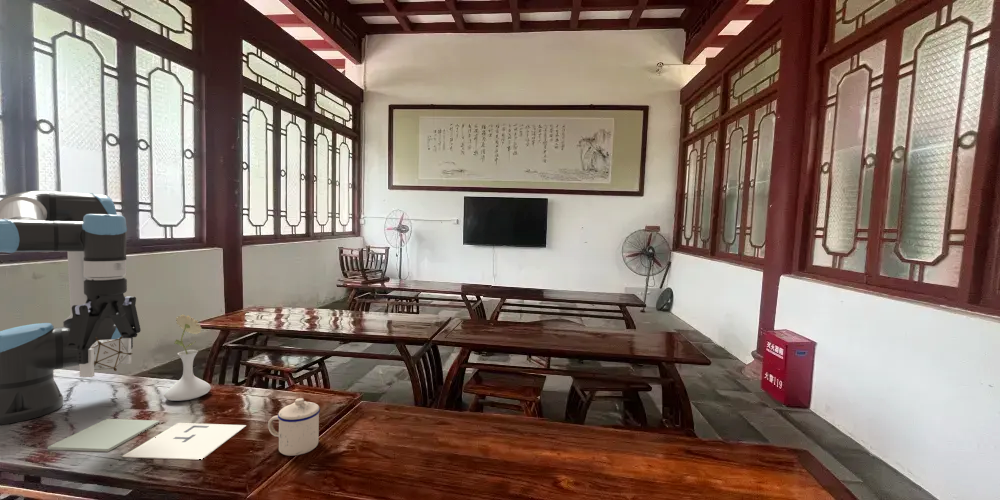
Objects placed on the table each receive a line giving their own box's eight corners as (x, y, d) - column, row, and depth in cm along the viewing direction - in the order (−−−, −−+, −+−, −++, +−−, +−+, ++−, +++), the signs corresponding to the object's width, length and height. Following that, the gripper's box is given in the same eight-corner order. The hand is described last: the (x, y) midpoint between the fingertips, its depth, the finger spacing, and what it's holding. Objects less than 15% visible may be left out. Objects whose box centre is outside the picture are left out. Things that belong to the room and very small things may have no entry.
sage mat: (47, 449, 93) (47, 446, 93) (106, 421, 107) (106, 418, 107) (108, 451, 93) (108, 449, 93) (159, 422, 107) (159, 420, 107)
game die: (106, 387, 98) (90, 363, 92) (79, 372, 99) (62, 346, 93) (144, 360, 105) (132, 336, 99) (119, 346, 106) (105, 321, 100)
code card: (121, 457, 91) (121, 456, 91) (178, 423, 107) (178, 422, 107) (201, 460, 91) (201, 458, 91) (246, 425, 107) (246, 425, 107)
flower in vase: (217, 395, 126) (218, 315, 124) (173, 408, 116) (172, 321, 115) (198, 385, 132) (198, 309, 131) (155, 396, 123) (154, 315, 122)
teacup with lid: (326, 437, 103) (326, 392, 102) (308, 457, 93) (308, 408, 93) (279, 435, 103) (279, 390, 102) (256, 455, 94) (257, 406, 93)
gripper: (74, 284, 88) (76, 386, 89) (158, 273, 109) (159, 356, 110) (39, 282, 88) (41, 385, 89) (130, 272, 109) (131, 355, 110)
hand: (106, 369), depth 99 cm, fingers closed on game die, 9 cm apart
